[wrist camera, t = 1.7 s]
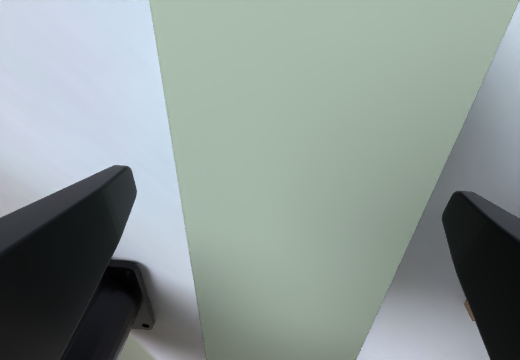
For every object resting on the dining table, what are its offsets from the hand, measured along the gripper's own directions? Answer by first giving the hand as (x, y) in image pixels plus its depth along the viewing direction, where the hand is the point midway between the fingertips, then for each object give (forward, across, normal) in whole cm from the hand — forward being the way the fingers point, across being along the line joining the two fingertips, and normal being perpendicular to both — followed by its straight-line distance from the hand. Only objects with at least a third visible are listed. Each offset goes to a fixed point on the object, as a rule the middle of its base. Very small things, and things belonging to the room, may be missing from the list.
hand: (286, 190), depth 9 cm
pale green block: (+4, 0, 0) cm, 4 cm away
